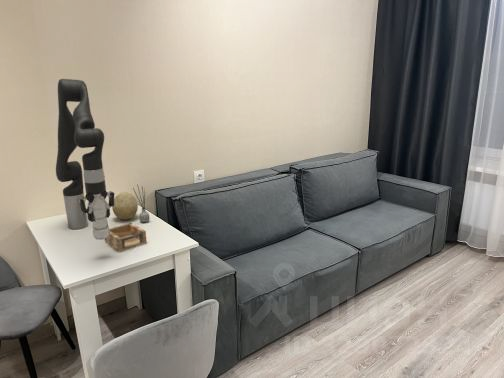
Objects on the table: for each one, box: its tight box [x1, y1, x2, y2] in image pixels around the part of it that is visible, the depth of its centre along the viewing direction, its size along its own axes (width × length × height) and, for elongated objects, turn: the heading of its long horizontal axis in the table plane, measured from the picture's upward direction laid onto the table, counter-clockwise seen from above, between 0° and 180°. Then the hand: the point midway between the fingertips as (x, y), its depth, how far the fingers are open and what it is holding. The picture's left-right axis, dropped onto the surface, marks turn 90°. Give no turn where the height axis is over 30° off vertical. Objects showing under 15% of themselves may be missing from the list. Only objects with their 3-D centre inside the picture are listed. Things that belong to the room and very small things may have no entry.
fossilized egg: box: [111, 191, 139, 221], centre depth 198 cm, size 13×13×15 cm
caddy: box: [104, 222, 148, 253], centre depth 170 cm, size 14×13×6 cm
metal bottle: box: [90, 193, 110, 241], centre depth 152 cm, size 6×7×20 cm
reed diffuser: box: [132, 184, 150, 223], centre depth 193 cm, size 10×7×20 cm
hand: (99, 219), depth 153 cm, fingers closed on metal bottle, 6 cm apart
